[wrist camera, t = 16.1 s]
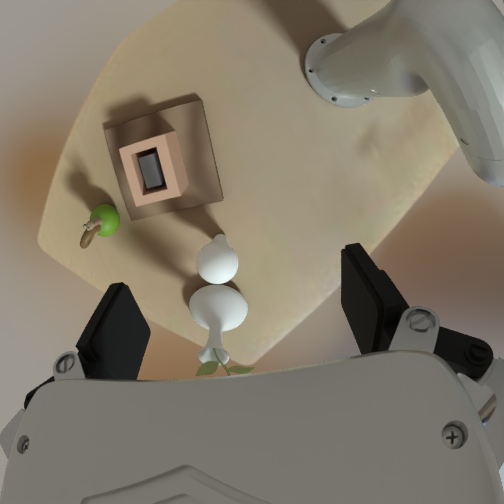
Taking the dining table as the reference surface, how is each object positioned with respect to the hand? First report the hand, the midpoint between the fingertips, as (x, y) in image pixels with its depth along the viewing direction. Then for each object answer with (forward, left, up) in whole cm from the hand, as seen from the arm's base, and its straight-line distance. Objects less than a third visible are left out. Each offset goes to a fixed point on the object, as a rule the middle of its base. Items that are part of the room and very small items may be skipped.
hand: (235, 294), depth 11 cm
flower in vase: (+9, +27, -34) cm, 44 cm away
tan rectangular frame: (+12, -2, -32) cm, 34 cm away
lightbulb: (+6, +13, -34) cm, 36 cm away
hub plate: (+12, -2, -33) cm, 35 cm away
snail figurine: (+24, +4, -34) cm, 41 cm away
